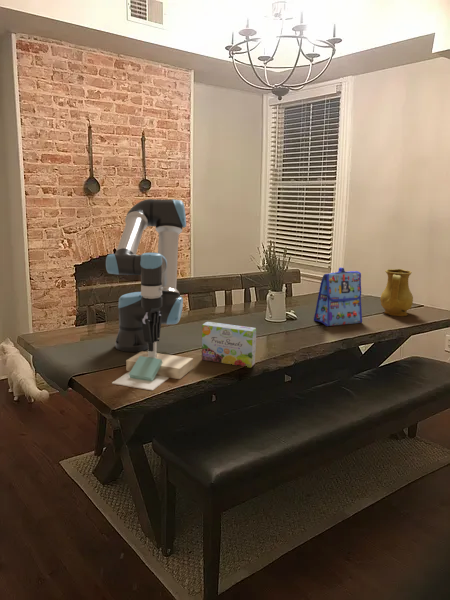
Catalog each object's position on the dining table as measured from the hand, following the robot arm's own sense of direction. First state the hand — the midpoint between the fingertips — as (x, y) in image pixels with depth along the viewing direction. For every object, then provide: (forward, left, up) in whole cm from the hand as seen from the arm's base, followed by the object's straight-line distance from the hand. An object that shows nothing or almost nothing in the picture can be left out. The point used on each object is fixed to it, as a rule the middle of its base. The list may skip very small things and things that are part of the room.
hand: (152, 358), depth 187 cm
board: (+1, +4, -6) cm, 7 cm away
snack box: (+22, +22, -6) cm, 32 cm away
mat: (0, -9, -6) cm, 10 cm away
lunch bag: (+54, +102, -6) cm, 116 cm away
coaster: (0, -4, -3) cm, 5 cm away
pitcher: (+81, +133, -6) cm, 156 cm away
